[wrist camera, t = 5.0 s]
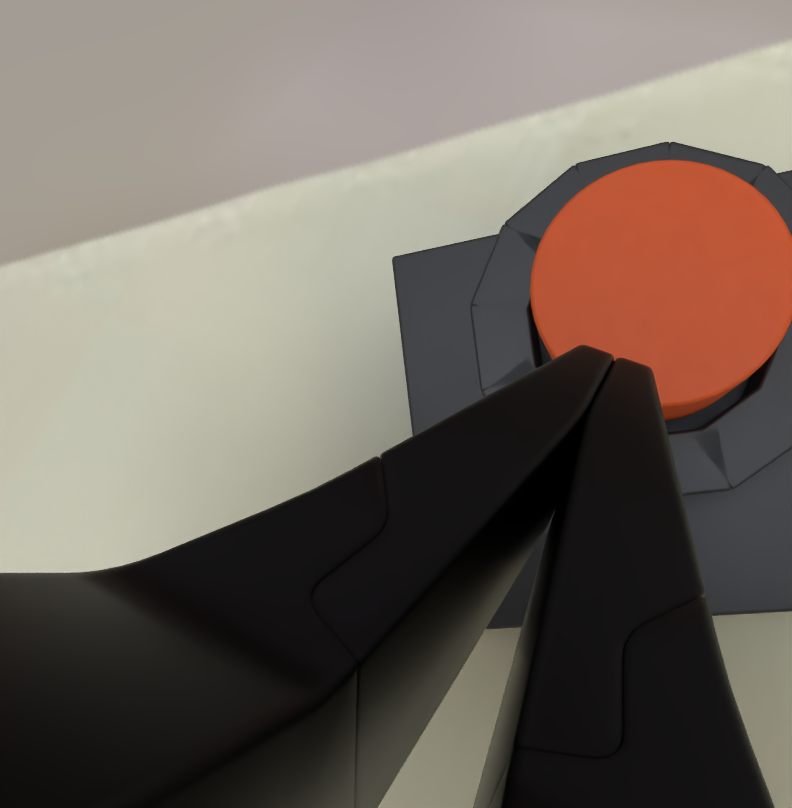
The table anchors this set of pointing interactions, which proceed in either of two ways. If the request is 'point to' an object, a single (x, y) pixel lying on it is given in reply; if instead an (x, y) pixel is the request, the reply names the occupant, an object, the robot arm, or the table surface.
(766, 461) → the block
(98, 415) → the table surface
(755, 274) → the power button
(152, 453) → the table surface
